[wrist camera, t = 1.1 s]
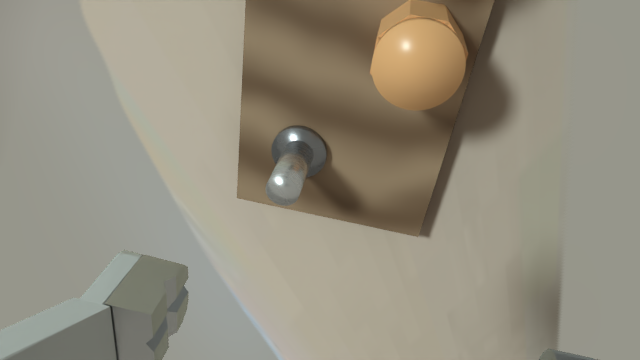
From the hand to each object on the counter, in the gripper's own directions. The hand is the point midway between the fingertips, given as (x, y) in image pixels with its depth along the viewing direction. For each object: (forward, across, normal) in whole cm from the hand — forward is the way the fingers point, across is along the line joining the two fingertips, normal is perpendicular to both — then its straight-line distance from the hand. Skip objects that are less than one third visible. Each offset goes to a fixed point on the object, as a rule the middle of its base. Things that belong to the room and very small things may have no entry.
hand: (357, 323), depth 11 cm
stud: (+25, +5, +10) cm, 28 cm away
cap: (+25, -2, 0) cm, 25 cm away
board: (+27, +2, +6) cm, 28 cm away
